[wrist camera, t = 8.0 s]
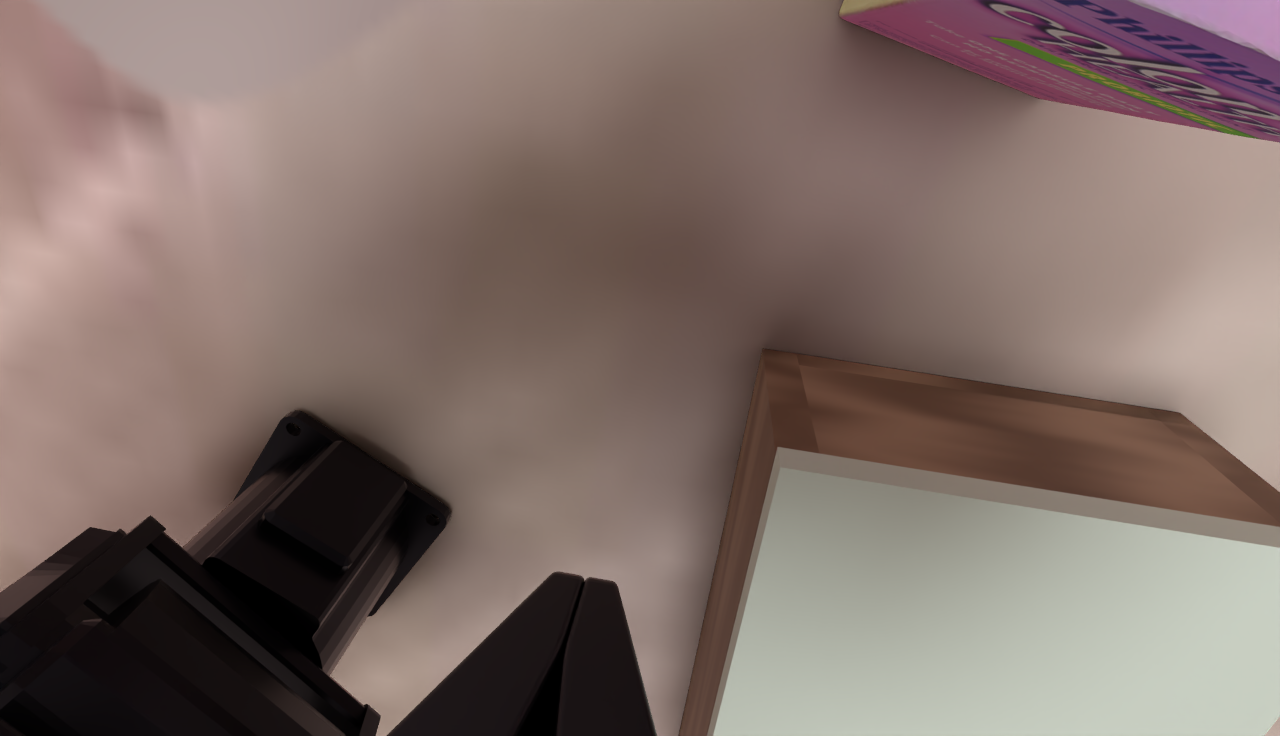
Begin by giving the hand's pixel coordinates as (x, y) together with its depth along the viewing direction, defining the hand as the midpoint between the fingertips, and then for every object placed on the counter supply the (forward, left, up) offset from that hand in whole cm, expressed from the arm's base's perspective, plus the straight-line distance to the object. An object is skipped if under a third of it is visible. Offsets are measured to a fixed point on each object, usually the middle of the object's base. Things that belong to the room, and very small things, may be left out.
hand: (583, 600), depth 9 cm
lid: (-4, -13, -6) cm, 15 cm away
